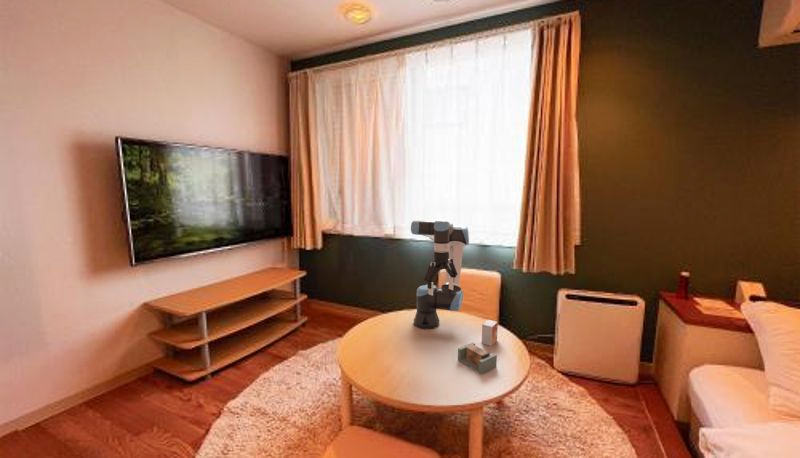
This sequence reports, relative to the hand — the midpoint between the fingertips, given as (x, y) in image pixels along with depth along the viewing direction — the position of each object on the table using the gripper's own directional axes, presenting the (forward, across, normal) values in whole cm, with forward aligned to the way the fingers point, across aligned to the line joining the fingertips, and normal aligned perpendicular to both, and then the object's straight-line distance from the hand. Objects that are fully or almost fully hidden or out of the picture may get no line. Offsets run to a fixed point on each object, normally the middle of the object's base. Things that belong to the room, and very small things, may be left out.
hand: (441, 291), depth 166 cm
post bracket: (+29, +2, -23) cm, 37 cm away
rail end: (+28, +2, -23) cm, 36 cm away
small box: (+29, +23, -12) cm, 39 cm away
